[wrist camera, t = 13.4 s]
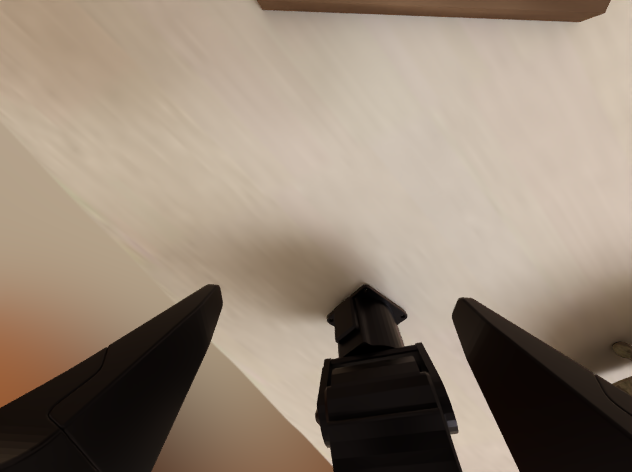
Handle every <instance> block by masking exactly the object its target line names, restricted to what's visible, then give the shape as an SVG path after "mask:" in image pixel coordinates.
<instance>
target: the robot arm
mask: <svg viewBox="0 0 632 472" xmlns="http://www.w3.org/2000/svg"><path fill="white" fill-rule="evenodd" d="M365 289H367V290H365ZM222 306H223V300H222V295H221V289H220V286H219V285H214V284H208V285H206V286H204V287H202V288H201V289H199V290H198V291H196V292H194V293H193V294H191V295H190V296H188V297H186V298H185V299H183V300H182V301H180V302H178V303H177V304H175V305H173V306H172V307H170V308H169V309H167V310H165V311H164V312H162V313H161V314H159V315H157V316H156V317H154V318H152V319H151V320H150V321H148V322H146V323H144V324H143V325H141V326H140V327H138V328H136V329H135V330H133V331H131V332H130V333H128V334H127V335H125V336H123V337H122V338H120V339H119V340H117V341H115V342H114V343H112V344H110V345H109V346H108V348H107V347H106V348H104V349H102V350H101V351H99V352H97V353H96V354H94V355H93V356H91V357H89V358H88V359H86V360H84V361H83V362H81V363H79V364H78V365H76V366H74V367H73V368H71V369H69V370H68V371H66V372H64V373H62V374H60V375H59V376H57V377H55V378H53V379H52V380H50V381H48V382H46V383H45V384H43V385H41V386H39V387H37V388H36V389H34V390H32V391H30V392H28V393H26V394H25V395H23V396H21V397H19V398H18V399H16V400H14V401H12V402H10V403H8V404H7V405H5V406H3V407H1V408H0V472H151V471H152V469H153V466H154V465H155V462H156V460H157V458H158V456H159V454H160V451H161V449H162V447H163V445H164V443H165V441H166V439H167V436H168V434H169V432H170V430H171V428H172V426H173V423H174V421H175V419H176V417H177V415H178V412H179V410H180V408H181V406H182V404H183V402H184V399H185V397H186V395H187V393H188V391H189V389H190V386H191V384H192V382H193V380H194V378H195V376H196V373H197V371H198V369H199V367H200V365H201V363H202V360H203V358H204V356H205V354H206V351H207V349H208V347H209V345H210V342H211V339H212V336H213V333H214V330H215V327H216V324H217V321H218V318H219V315H220V312H221V309H222ZM401 315H402V316H401ZM406 318H407V314H406V312H405V311H404V310H403V309H401V308H400V307H398V306H397V305H396V304H394V303H393V302H391V301H390V300H389V299H387V298H386V297H384V296H383V295H382V294H380V293H379V292H377V291H376V290H374V289H373V288H372V287H370V286H369V285H363V286H361V287H360V288H359V289H358V290H357V291H356V292H355V293H353V294H352V295H351V296H350V297H348V298H347V299H346V300H344V301H343V302H342V303H341V304H340V305H339V306H338V307H336V308H335V309H334V311H333V312H332V313H330V314H329V315H328V316H327V322H328V323H329V324H331V325H333V326H334V327H335V341H336V342H337V343H338V353H339V358H336V359H331V358H330V359H325V360H324V367H323V368H322V374H321V381H320V387H319V394H318V400H317V410H316V413H315V418H316V422H317V423H318V424H319V425H320V427H321V432H322V437H323V440H324V443H325V445H326V446H327V448H330V449H331V456H332V463H333V471H334V472H462V469H461V466H460V463H459V460H458V457H457V454H456V451H455V448H454V445H453V442H452V439H451V435H450V434H457V433H458V426H457V422H456V418H455V415H454V412H453V409H452V406H451V403H450V400H449V397H448V395H447V392H446V390H445V387H444V385H443V383H442V380H441V378H440V376H439V374H438V373H437V371H436V369H435V367H434V365H433V363H432V361H431V359H430V357H429V355H428V354H427V352H426V350H425V348H424V346H423V344H422V342H421V343H415V345H411V346H404V343H403V340H402V337H401V335H400V332H399V329H398V326H397V325H398V324H399V323H401V322H402V321H404V320H405V319H406ZM452 320H453V323H454V325H455V328H456V331H457V334H458V337H459V339H460V342H461V345H462V348H463V351H464V353H465V356H466V359H467V361H468V363H469V365H470V368H471V370H472V372H473V374H474V376H475V378H476V380H477V382H478V385H479V387H480V389H481V391H482V393H483V395H484V397H485V399H486V401H487V404H488V406H489V408H490V410H491V412H492V414H493V416H494V418H495V420H496V423H497V425H498V427H499V429H500V431H501V433H502V435H503V437H504V439H505V442H506V444H507V446H508V448H509V450H510V452H511V454H512V456H513V459H514V461H515V463H516V465H517V467H518V469H519V471H520V472H632V396H631V395H629V394H627V393H626V392H624V391H622V390H621V389H619V388H617V387H616V386H614V385H612V384H611V383H609V382H608V381H606V380H604V379H603V378H601V377H600V376H598V375H594V373H593V372H591V371H590V370H588V369H586V368H585V367H583V366H582V365H580V364H578V363H577V362H575V361H573V360H572V359H570V358H569V357H567V356H565V355H564V354H562V353H560V352H559V351H557V350H556V349H554V348H552V347H551V346H549V345H547V344H546V343H544V342H543V341H541V340H539V339H538V338H536V337H534V336H533V335H531V334H530V333H528V332H526V331H525V330H523V329H521V328H520V327H518V326H517V325H515V324H513V323H512V322H510V321H508V320H507V319H505V318H504V317H502V316H500V315H499V314H497V313H495V312H494V311H492V310H491V309H489V308H487V307H486V306H484V305H482V304H481V303H479V302H478V301H476V300H474V299H472V298H464V297H461V298H459V299H458V301H457V303H456V306H455V308H454V310H453V313H452Z"/></svg>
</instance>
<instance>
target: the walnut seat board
mask: <svg viewBox="0 0 632 472" xmlns="http://www.w3.org/2000/svg"><path fill="white" fill-rule="evenodd" d="M257 1H258V3H259V5H260V6H261V8H262V10H280V11H306V12H332V13H358V14H384V15H410V16H437V17H463V18H489V19H515V20H541V21H567V22H581V21H584V20H587V19H589V18H592V17H595V16H598V15H600V14H603V13H605V12H606V9H607V7H608V5H609V3H610V1H611V0H257Z"/></svg>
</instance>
